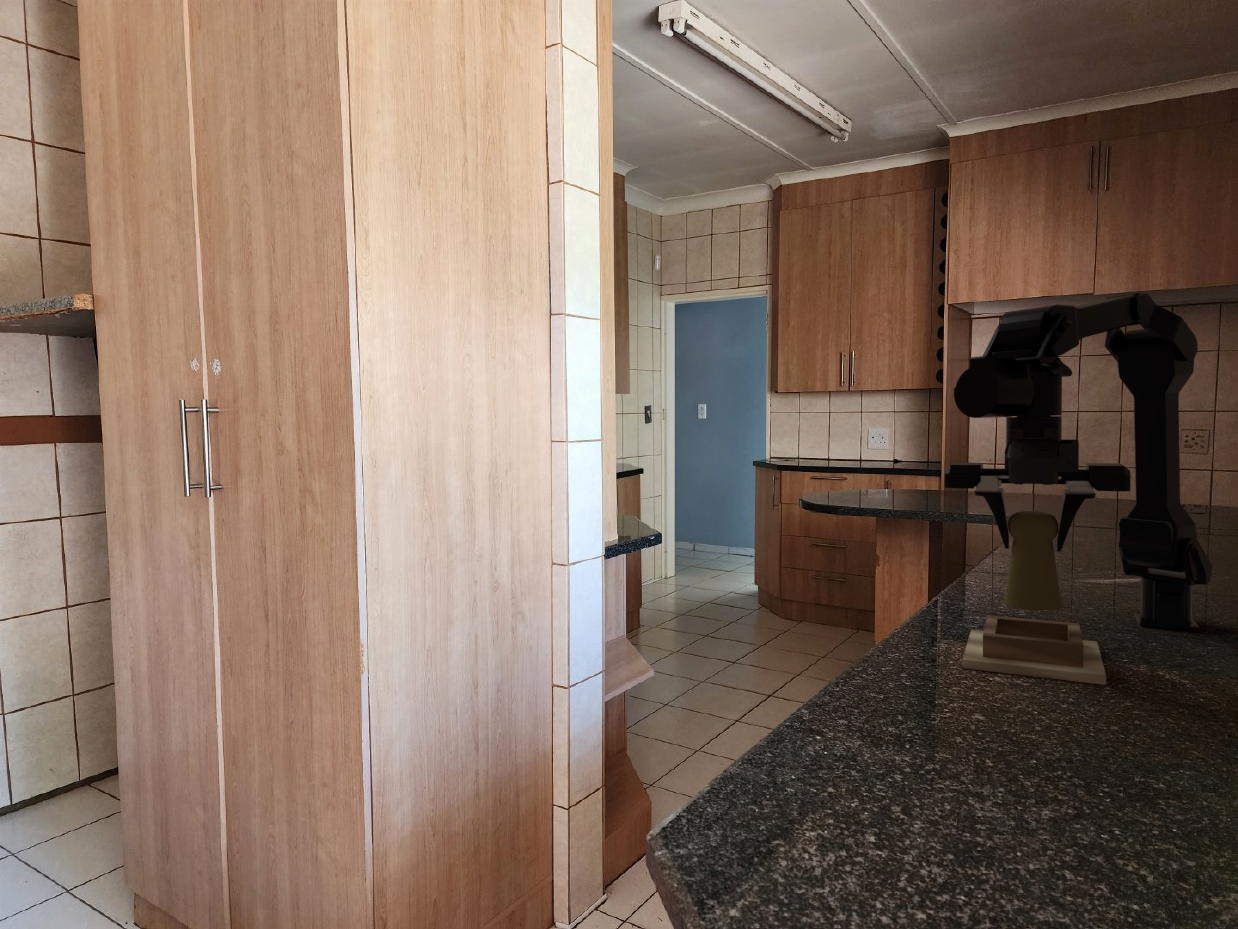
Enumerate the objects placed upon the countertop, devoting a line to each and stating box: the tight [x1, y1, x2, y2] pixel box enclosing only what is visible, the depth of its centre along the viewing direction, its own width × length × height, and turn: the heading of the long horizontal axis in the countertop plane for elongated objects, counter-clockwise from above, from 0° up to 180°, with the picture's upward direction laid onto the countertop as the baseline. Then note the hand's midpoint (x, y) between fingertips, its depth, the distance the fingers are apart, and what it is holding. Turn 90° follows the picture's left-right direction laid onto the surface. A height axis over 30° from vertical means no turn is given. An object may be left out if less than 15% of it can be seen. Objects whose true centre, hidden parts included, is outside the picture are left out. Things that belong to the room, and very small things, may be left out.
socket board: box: [962, 615, 1107, 686], centre depth 92 cm, size 14×14×4 cm
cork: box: [1003, 510, 1063, 611], centre depth 92 cm, size 6×6×11 cm
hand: (1032, 549), depth 92 cm, fingers closed on cork, 5 cm apart
